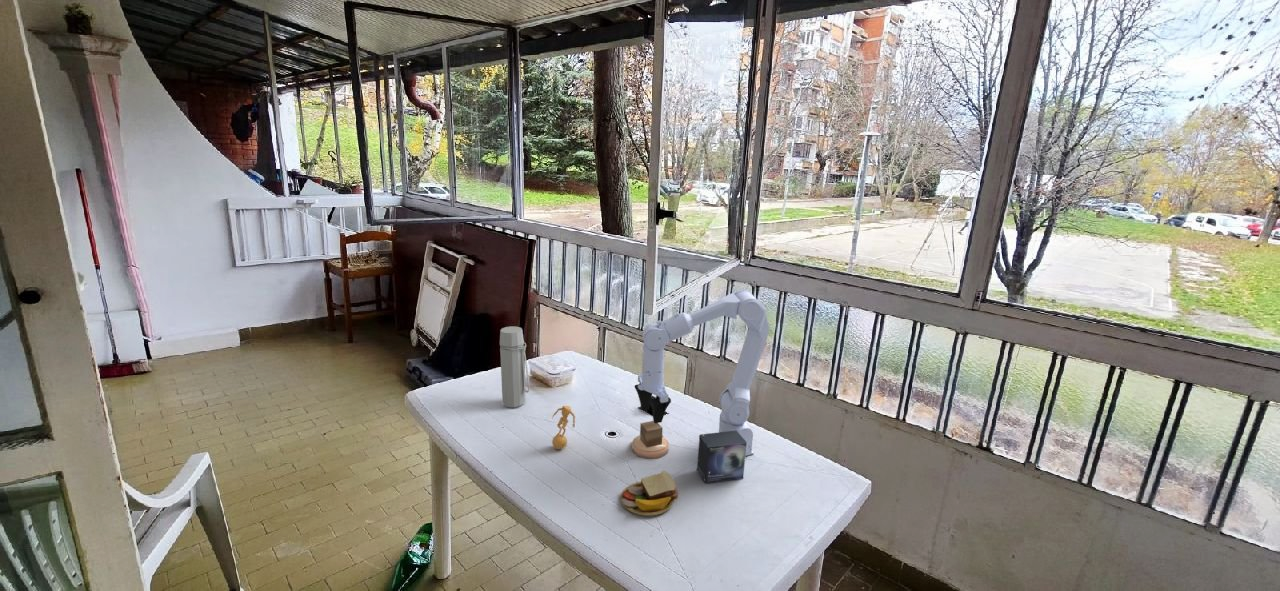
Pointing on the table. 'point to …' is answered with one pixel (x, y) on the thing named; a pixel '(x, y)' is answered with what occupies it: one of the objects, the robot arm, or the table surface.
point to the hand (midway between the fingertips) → (651, 415)
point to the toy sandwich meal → (650, 495)
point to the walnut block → (651, 434)
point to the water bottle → (513, 366)
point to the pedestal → (650, 448)
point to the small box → (721, 456)
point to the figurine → (560, 439)
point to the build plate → (651, 409)
